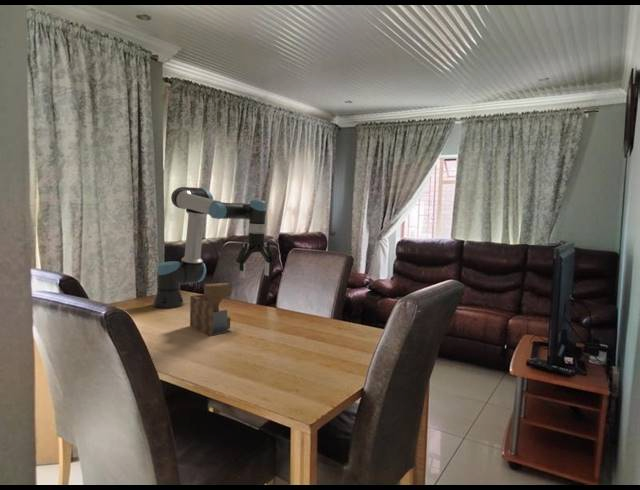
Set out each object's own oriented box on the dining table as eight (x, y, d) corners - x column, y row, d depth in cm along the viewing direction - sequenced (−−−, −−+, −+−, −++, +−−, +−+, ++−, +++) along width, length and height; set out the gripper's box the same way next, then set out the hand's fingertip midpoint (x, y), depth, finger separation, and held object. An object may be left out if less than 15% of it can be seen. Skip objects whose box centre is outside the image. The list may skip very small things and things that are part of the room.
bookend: (207, 333, 180) (207, 312, 179) (226, 329, 186) (226, 309, 185) (212, 335, 176) (213, 315, 175) (231, 332, 182) (232, 312, 181)
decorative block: (227, 324, 193) (227, 282, 191) (230, 328, 188) (231, 284, 186) (203, 327, 188) (203, 283, 186) (206, 330, 183) (206, 286, 181)
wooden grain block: (190, 325, 189) (190, 295, 188) (211, 322, 196) (211, 293, 195) (209, 336, 175) (210, 303, 174) (231, 332, 182) (231, 300, 181)
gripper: (238, 233, 186) (236, 279, 188) (282, 233, 203) (280, 275, 205) (229, 232, 192) (228, 277, 194) (273, 231, 208) (271, 273, 211)
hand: (254, 276), depth 199 cm, fingers open, 13 cm apart
